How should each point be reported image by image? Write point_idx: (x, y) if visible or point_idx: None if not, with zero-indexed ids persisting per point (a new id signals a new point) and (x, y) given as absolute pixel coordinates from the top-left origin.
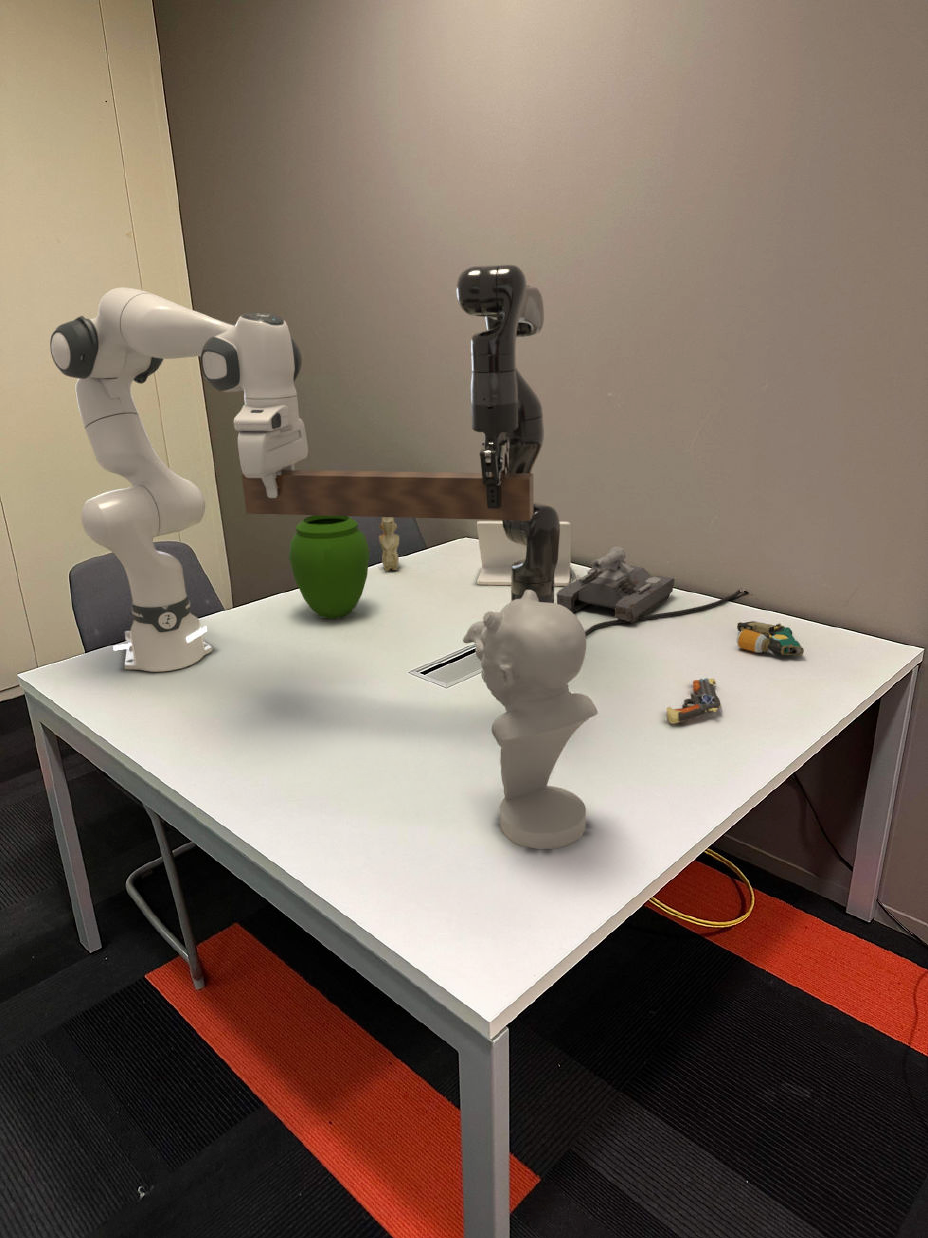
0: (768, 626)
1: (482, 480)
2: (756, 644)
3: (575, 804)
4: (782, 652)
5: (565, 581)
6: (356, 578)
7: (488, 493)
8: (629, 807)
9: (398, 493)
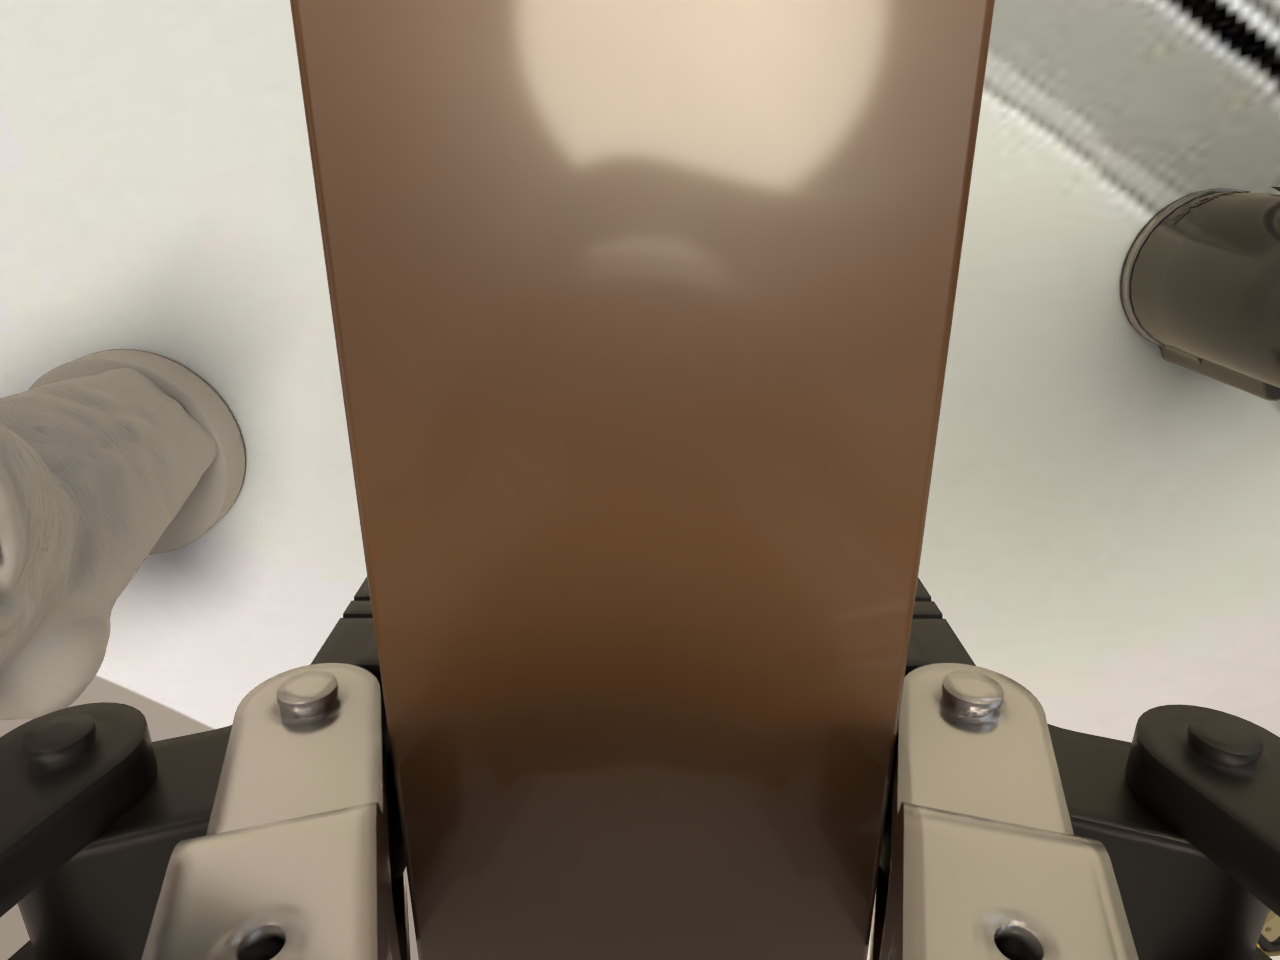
0: (1265, 930)
1: (22, 743)
2: None
3: (164, 531)
4: None
5: None
6: None
7: (326, 644)
8: (286, 614)
9: None
